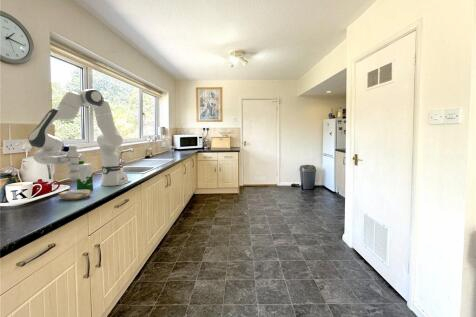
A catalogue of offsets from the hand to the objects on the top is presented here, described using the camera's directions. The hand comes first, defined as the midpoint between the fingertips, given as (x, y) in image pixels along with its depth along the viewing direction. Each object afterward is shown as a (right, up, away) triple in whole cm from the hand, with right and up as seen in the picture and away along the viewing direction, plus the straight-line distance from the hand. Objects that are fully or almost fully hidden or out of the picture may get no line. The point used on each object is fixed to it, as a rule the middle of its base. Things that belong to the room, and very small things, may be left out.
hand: (74, 158), depth 149 cm
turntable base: (-1, -24, +3) cm, 24 cm away
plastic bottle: (-1, -13, +2) cm, 13 cm away
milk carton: (-8, -22, +24) cm, 33 cm away
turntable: (-1, -22, +2) cm, 22 cm away
